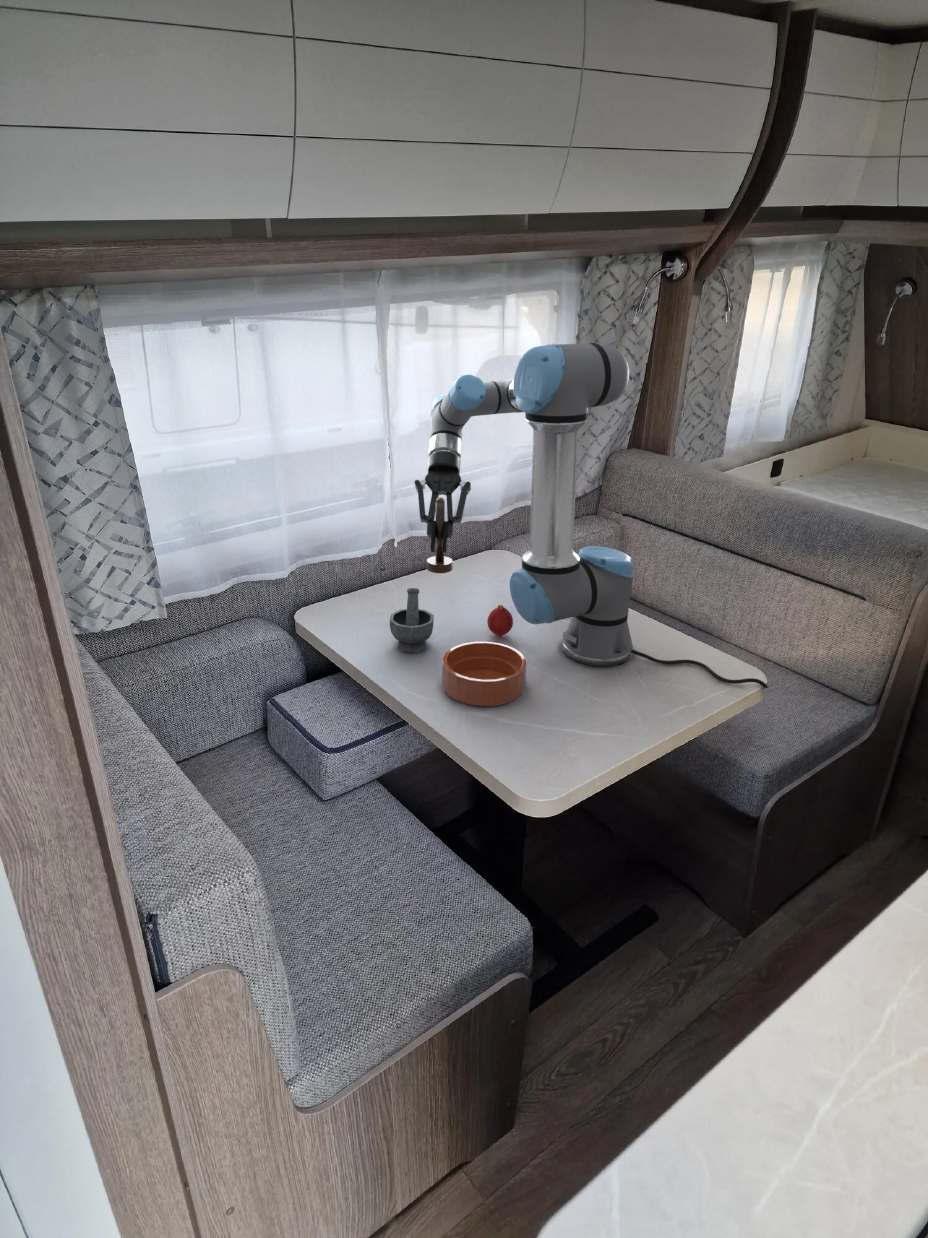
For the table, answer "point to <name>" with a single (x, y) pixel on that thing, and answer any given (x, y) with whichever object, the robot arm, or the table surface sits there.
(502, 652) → the bowl
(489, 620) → the onion
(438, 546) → the wooden peg stand
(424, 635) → the mortar and pestle
